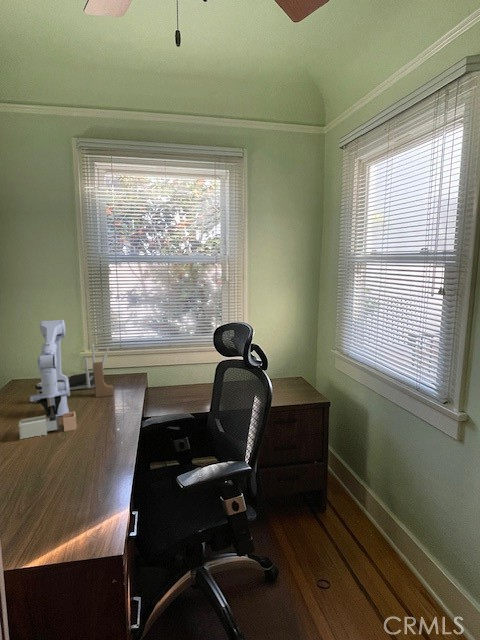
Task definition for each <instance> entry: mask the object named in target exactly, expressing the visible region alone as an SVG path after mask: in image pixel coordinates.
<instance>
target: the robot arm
mask: <svg viewBox="0 0 480 640" xmlns="http://www.w3.org/2000/svg"><path fill="white" fill-rule="evenodd" d="M39 329H40V333H41V334H42V335H41V336H42V337H43V339H44V341H45V342H44V343H42V344H41V347H40V349H41V350H40V356H38V357H37V368H38V372H39V375H40V381H41V382H40V383H42V393H41V394H40V393H39V394H38V393H37V394H33V395H29V399H30V400H29V401H30V402H36V401H35V400H40V403H39V404H41V406H42V408H43V410H45V413H46V417H49V409H48V407H49V406H51V405H55V414H56V417H57V416H58V417H63V414H64V413H69V412H70V410H69V406H68V397H70V396H71V390H69V377H68V376H67V375H65V374H63V372H62V353H61V351H62V349H61V344H62V343H61V342H62V339H64V338H65V337H66V322H65V320H64V319H55V320H41V321H40V323H39ZM47 399H48V401H49V404H48V401H47Z"/></svg>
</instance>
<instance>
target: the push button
mask: <svg viewBox="0 0 480 640" xmlns="http://www.w3.org/2000/svg"><path fill="white" fill-rule="evenodd" d="M34 387H35V390H36V392H37V394H41V393H42V383H41V382H38V383H36V384H35V385H34ZM47 401H49V398H48V399H47ZM34 402H35V403H36V404H41V403H40V400H35V401H34Z"/></svg>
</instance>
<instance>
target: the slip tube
mask: <svg viewBox="0 0 480 640" xmlns="http://www.w3.org/2000/svg"><path fill="white" fill-rule="evenodd" d="M48 409H49V416H48V417H49V418H47V417H46V429H47V432H50V431H51V432H52V431H57V430H60V425H59V424H60V423H59V416H57V417H56V414H55V405H51V406H50V405H48ZM36 421H37V420H36ZM30 422H31V421H30Z"/></svg>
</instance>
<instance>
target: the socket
mask: <svg viewBox="0 0 480 640" xmlns="http://www.w3.org/2000/svg"><path fill="white" fill-rule="evenodd" d="M62 419H63V432H69V431H75V430H77V429H78V428H77V427H78V425H77V415H76V411H71V412H70V411H69V413H64V414H63V415H62Z"/></svg>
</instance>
